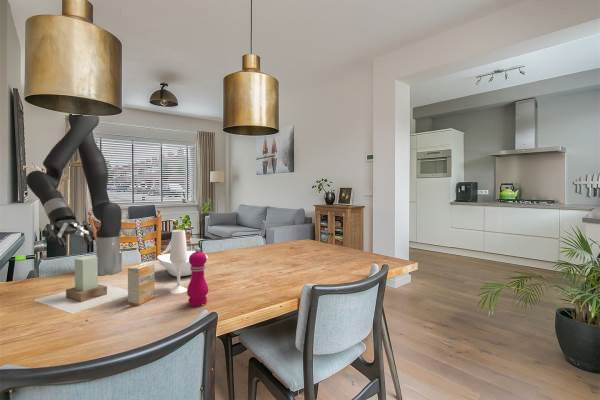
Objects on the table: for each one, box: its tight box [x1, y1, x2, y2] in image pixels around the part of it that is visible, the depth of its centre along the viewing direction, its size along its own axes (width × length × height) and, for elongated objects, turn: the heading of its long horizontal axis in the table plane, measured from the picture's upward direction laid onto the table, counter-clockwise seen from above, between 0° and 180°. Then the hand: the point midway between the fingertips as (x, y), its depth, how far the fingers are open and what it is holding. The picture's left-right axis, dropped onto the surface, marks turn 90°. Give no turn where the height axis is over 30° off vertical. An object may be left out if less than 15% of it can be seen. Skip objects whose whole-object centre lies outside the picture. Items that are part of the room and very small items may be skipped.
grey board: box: [33, 282, 128, 315], centre depth 112 cm, size 22×24×1 cm
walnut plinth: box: [65, 284, 107, 302], centre depth 111 cm, size 9×9×3 cm
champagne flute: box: [169, 229, 188, 295], centre depth 121 cm, size 7×7×24 cm
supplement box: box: [127, 262, 155, 306], centre depth 110 cm, size 8×5×13 cm, turn 168°
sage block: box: [74, 255, 99, 291], centre depth 111 cm, size 5×5×11 cm
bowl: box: [157, 250, 209, 278], centre depth 144 cm, size 21×21×9 cm
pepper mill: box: [186, 247, 209, 307], centre depth 109 cm, size 7×7×20 cm
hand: (77, 245), depth 113 cm, fingers open, 8 cm apart
